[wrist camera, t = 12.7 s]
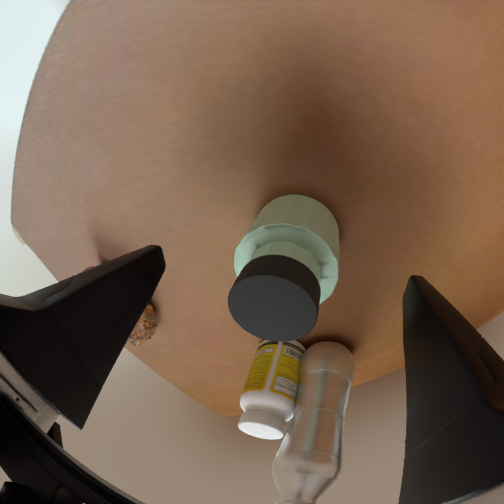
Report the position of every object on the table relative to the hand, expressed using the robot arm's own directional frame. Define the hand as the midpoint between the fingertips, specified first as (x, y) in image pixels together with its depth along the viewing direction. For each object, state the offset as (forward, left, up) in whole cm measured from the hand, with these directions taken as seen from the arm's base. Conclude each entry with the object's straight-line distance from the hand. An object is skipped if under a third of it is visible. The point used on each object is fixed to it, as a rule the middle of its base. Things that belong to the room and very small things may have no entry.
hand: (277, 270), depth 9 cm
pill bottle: (-17, +13, -13) cm, 25 cm away
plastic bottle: (-19, +8, -13) cm, 24 cm away
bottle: (-4, +4, -13) cm, 14 cm away
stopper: (-4, +4, -8) cm, 10 cm away
